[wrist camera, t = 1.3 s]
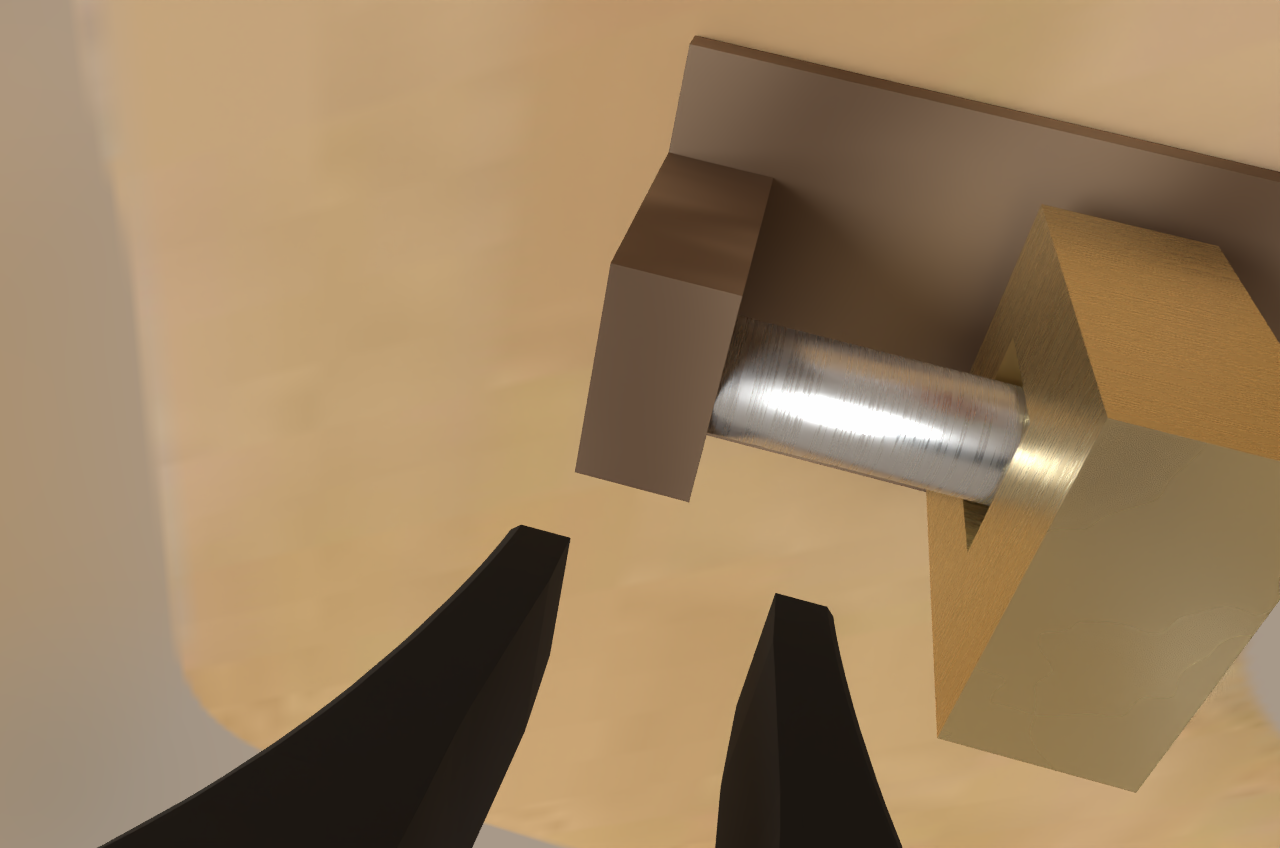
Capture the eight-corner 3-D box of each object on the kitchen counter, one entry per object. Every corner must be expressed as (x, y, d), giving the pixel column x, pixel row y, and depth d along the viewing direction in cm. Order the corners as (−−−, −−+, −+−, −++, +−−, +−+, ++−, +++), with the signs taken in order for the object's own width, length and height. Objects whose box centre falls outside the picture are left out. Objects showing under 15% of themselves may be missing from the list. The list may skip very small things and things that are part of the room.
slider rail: (1730, 277, 18) (2017, 467, 13) (1440, 608, 22) (1578, 832, 18) (695, 35, 19) (632, 133, 14) (623, 397, 23) (560, 557, 19)
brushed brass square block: (1218, 246, 17) (1367, 482, 12) (1072, 514, 21) (1136, 792, 15) (1041, 203, 18) (1107, 418, 12) (925, 476, 21) (937, 737, 16)
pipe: (1729, 532, 16) (1832, 630, 15) (1630, 628, 18) (1712, 729, 16) (629, 258, 18) (600, 318, 16) (610, 366, 19) (580, 433, 17)
